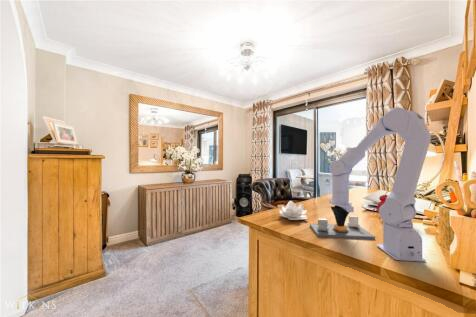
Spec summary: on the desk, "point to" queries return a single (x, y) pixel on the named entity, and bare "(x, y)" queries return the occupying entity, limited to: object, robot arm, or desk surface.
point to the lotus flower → (293, 211)
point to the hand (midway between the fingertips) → (340, 225)
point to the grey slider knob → (322, 225)
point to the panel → (351, 232)
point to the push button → (340, 228)
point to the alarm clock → (381, 201)
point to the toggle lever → (353, 221)
